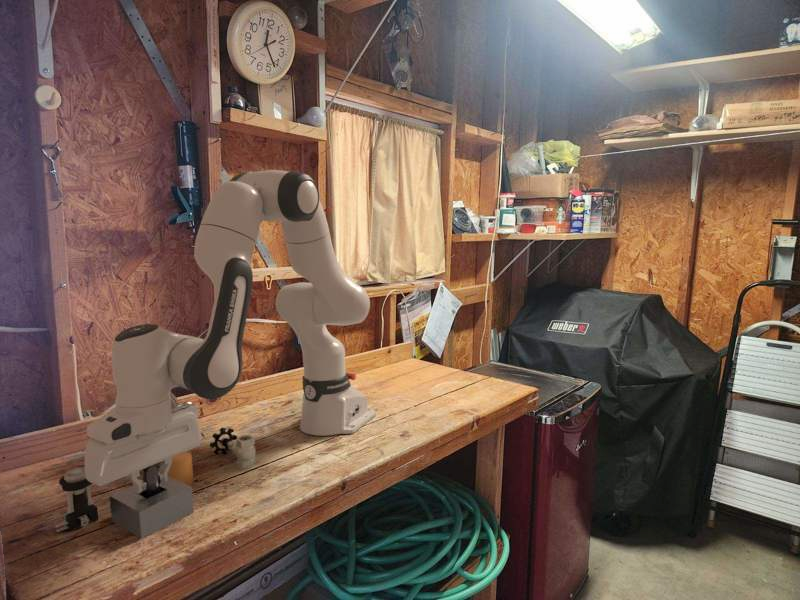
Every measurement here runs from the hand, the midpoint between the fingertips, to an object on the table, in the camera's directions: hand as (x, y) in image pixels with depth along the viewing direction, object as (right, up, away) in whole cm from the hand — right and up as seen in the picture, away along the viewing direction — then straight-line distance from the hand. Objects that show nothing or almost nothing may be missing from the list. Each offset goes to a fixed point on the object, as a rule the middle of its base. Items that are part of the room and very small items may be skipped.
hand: (151, 486), depth 92 cm
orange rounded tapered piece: (0, -4, +13) cm, 13 cm away
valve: (+8, -3, +23) cm, 25 cm away
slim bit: (0, -3, 0) cm, 3 cm away
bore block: (0, -6, +1) cm, 6 cm away
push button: (-12, -7, -2) cm, 14 cm away
